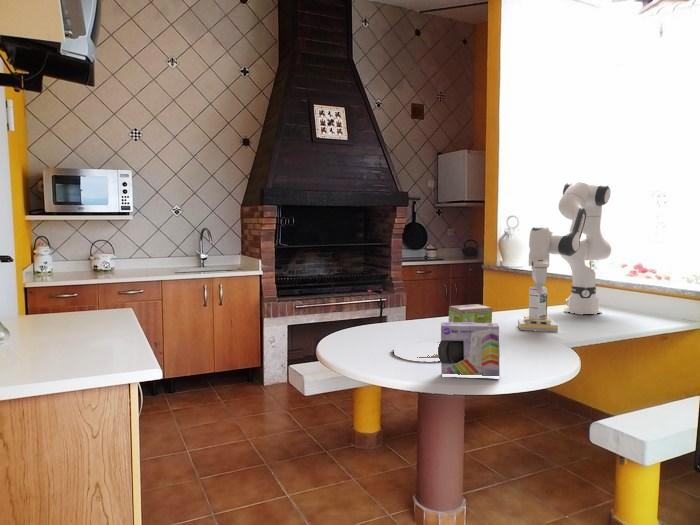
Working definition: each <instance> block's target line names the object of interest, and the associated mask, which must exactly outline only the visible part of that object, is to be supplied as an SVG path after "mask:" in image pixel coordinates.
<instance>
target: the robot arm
mask: <svg viewBox="0 0 700 525" xmlns="http://www.w3.org/2000/svg"><path fill="white" fill-rule="evenodd" d="M610 198H611V188H610V187H609V185H607V184H605V183H598V182H593V181H583V180H571V181H568V182H566V183H565V184H564V186H563V189H562V196H561V198H560V200H559V202H558V210H559V212H560V214H561V215H562V216H563V217H565V218H566V219H568V220H571V225H570V228H569V231H567V232H564V233H556V232H552V231H551V230H550V228H549V227H548V225H547V226H546V225H537V226H533V227H532V228H531V229H530V232H529V237H528V238H529V240H528V246H529V253H528V266H530V267H531V270H532V272H531V279H532V280H533V281H534V287H535V286H537V293H538V294H541V293H542V287H543V285H546V282H547V275H548V268H549V266H550V254H551V255H559V256H561V258H562V259H563V260H565V261H566V262H567V263H568V264H569V265H568V266H570V270H571V274H572V275H571V276H572V282H571V283H572V285H571V286H570V287H571V288H570V290H571V291H570V295H569V296H568V298H565V303H566V306H564V309H563V312H564V313H568V312H570V313H569V314H574V313H575V315H583V314H594V315H598V314H597V313H600V314H603V311H602V310H600V299H599V297H598V295H596V293H597V286H596V276H597V273H596V271H595V270H594V269H593V268H591V267H589V266H587V265H586V263H585V261H600V260H601V261H602V260H605V259H608V258H609V257H610V255H611V253H612V246H611V244H610V242H609V241H608V240H606V239H605V237H603V235H602V233H601V220H602V214H603V213H602V212H603V211H602V210H603V206H604V205H606V204H607V203H608V202H609V200H610ZM582 234H584V235H585V236H586V237H585V238H586V239H581V237H582Z"/></svg>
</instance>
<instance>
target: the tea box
mask: <svg viewBox="0 0 700 525" xmlns="http://www.w3.org/2000/svg"><path fill="white" fill-rule="evenodd" d="M448 322H459V323H462V322H472V323H493V307H490V306H486V305H483V304H479V303H477V304H475V303H474V304H463V305H461V304H460V305H450V306H448Z"/></svg>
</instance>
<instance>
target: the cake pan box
mask: <svg viewBox="0 0 700 525" xmlns="http://www.w3.org/2000/svg"><path fill="white" fill-rule="evenodd" d="M439 343H440V344H439V347H438V355H439V359H440V361H441V362H440V363H441V364H440V365H441V367H440V368H441V375H442V374H458V375H460V374H461V375H482V376H500V356H501V354H500V352H501V350H500V349H501V348H500V325H499V323H497V322H495V323H493V322H492V323H472V322H462V323H459V322H449V321H448V322H447V321H446V322H445V321H442V322H441V324H440V342H439ZM500 377H501V376H500Z"/></svg>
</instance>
